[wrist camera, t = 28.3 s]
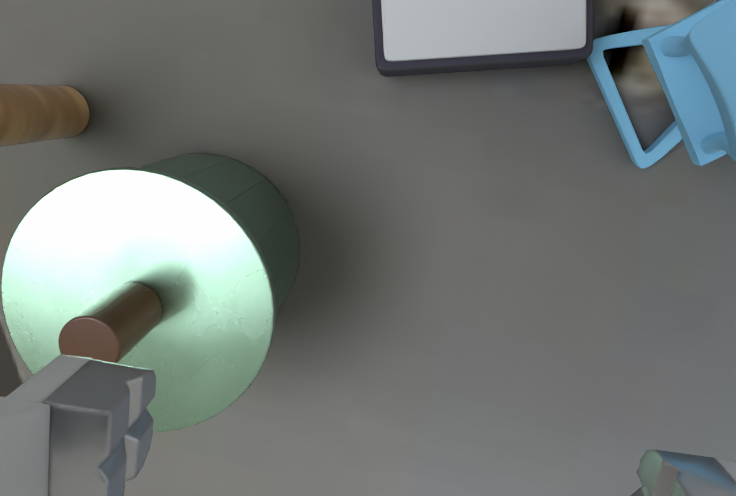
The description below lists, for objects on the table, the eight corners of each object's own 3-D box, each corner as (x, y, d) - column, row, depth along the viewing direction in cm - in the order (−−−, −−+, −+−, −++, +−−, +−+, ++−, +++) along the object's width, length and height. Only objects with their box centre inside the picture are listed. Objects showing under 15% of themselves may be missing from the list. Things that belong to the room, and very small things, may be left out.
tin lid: (16, 146, 28) (-77, 159, 23) (293, 187, 28) (267, 211, 23) (14, 399, 31) (-69, 465, 26) (264, 437, 31) (235, 512, 26)
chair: (774, 100, 36) (956, 105, 24) (633, 169, 37) (741, 205, 25) (724, -30, 34) (891, -93, 23) (579, 46, 36) (667, 24, 24)
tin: (120, 140, 38) (19, 157, 28) (310, 169, 38) (277, 197, 28) (112, 319, 41) (16, 394, 31) (288, 346, 41) (251, 431, 30)
